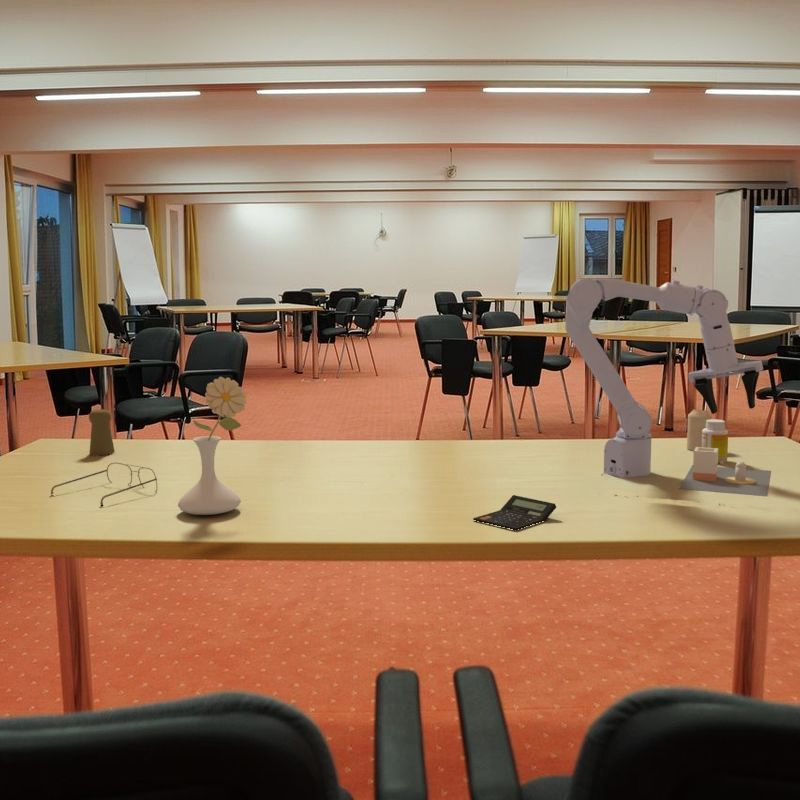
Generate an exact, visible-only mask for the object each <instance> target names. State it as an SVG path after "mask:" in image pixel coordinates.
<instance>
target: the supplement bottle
mask: <svg viewBox="0 0 800 800" xmlns="http://www.w3.org/2000/svg"><path fill="white" fill-rule="evenodd" d="M725 423H726V421H725V420H723V419H717V418H716V419H715V418H714V419H713V418H712V419H709V420H706V427H707V428H704V429H703V430H702V447H704V448H718V465H719V464H726V463H728V448H729V446H728V445H729V430H728V429H727V428H726V427H725Z"/></svg>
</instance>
